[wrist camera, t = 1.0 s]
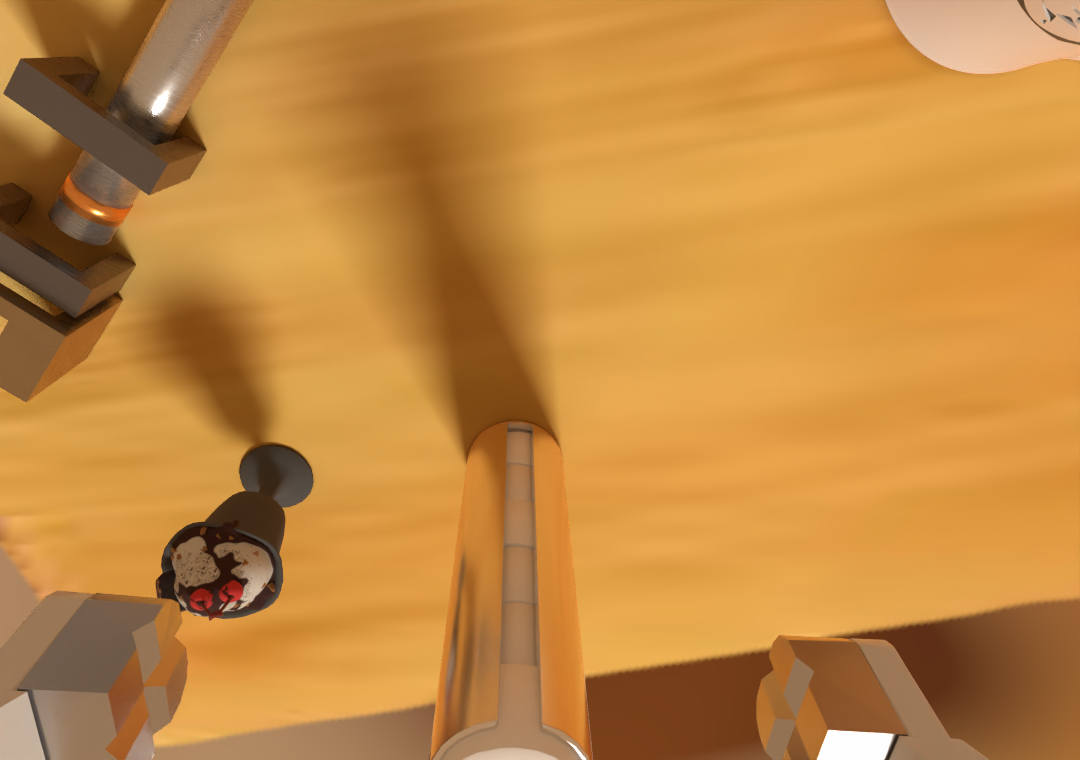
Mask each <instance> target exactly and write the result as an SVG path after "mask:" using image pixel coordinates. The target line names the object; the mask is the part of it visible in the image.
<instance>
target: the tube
mask: <svg viewBox="0 0 1080 760" xmlns="http://www.w3.org/2000/svg"><path fill="white" fill-rule="evenodd" d="M253 1H254V0H166V1H165V3H164V5H163V7H162V8H161V10H160V12H159V14H158V16H157V17H156V19H155V21H154V23H153V25H152V26H151V28H150V30H149V32H148V34H147V36H146V37H145V39H144V41H143V43H142V45H141V46H140V48H139V50H138V52H137V54H136V55H135V57H134V59H133V61H132V63H131V64H130V66H129V68H128V70H127V72H126V73H125V75H124V77H123V79H122V81H121V83H120V84H119V86H118V88H117V90H116V92H115V93H114V95H113V97H112V99H111V101H110V102H109V104H108V106H107V108H106V111H108V112H109V113H110V114H112V115H113V116H115V117H116V118H117V119H119V120H120V121H122V122H123V123H124V124H126V125H127V126H129V127H130V128H131V129H133V130H134V131H135V132H137V133H138V134H140V135H141V136H142V137H144V138H145V139H147V140H148V141H149V142H151V143H152V144H154V145H159V144H162V143H166V142H169V141H170V140H171V138H172V137H173V135H174V133H175V132H176V130H177V128H178V127H179V125H180V123H181V121H182V120H183V118H184V116H185V115H186V113H187V111H188V110H189V108H190V106H191V105H192V103H193V101H194V100H195V98H196V96H197V95H198V93H199V91H200V90H201V88H202V86H203V85H204V83H205V81H206V79H207V78H208V76H209V74H210V73H211V71H212V69H213V68H214V66H215V64H216V63H217V61H218V59H219V58H220V56H221V54H222V53H223V51H224V49H225V48H226V46H227V44H228V43H229V41H230V39H231V37H232V36H233V34H234V32H235V31H236V29H237V27H238V26H239V24H240V22H241V21H242V19H243V17H244V16H245V14H246V12H247V11H248V9H249V7H250V6H251V4H252V2H253ZM140 190H141V189H139V188H138V187H137V186H135V185H134V184H132V183H131V182H129V181H128V180H126V179H125V178H124V177H122V176H121V175H119V174H118V173H116V172H115V171H114V170H112V169H111V168H109V167H108V166H106V165H105V164H103V163H102V162H101V161H99V160H98V159H96V158H95V157H93V156H92V155H91V154H89V153H88V152H86V151H85V150H83V151H82V153H81V155H80V157H79V158H78V160H77V162H76V164H75V166H74V167H73V169H72V171H71V172H70V173H69V174H68V176H67V178H66V180H65V181H64V183H63V185H62V187H61V189H60V190H59V195H58V196H57V198H56V200H55V202H54V204H53V205H52V207H51V209H50V211H49V218H50V220H51V221H52V222H53V224H54V225H55V226H56V227H57V228H59V229H60V230H61V231H62V232H64V233H65V234H67V235H69V236H71V237H73V238H74V239H77V240H79V241H82V242H85V243H88V244H92V245H106V244H108V243H109V242H110V241H111V239H112V237H113V236H114V234H115V232H116V231H117V229H118V227H119V226H120V225H121V224H122V223H123V221H124V219H125V218H126V216H127V214H128V213H129V211H130V209H131V208H132V206H133V202H134V200H135V199H136V197H137V195H138V194H139V192H140Z"/></svg>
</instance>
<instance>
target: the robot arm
mask: <svg viewBox="0 0 1080 760" xmlns="http://www.w3.org/2000/svg"><path fill="white" fill-rule="evenodd" d="M885 1H886V4H887V7H888V9H889V11H890V13H891V16H892V18H893V19H894V21H895V23H896V25H897V26H898V28H899V29H900V31H901V32H902V34H903V35H904V36H905V37H906V39H907V40H908V41H909V42H910V43H911V44H912V45H913V46H914V47H915V48H916V49H917V50H918V51H920V52H921V53H922V54H923V55H925V56H926V57H928V58H929V59H931V60H933V61H935V62H936V63H938V64H940V65H943V66H945V67H948V68H951V69H953V70H957V71H961V72H967V73H976V74H994V73H1003V72H1008V71H1013V70H1017V69H1021V68H1024V67H1027V66H1031V65H1034V64H1039V63H1043V62H1047V61H1052V60H1058V59H1064V58H1065V59H1072V60H1080V0H885ZM181 624H182V618H181V612H180V607H179V603H178V602H176V601H174V600H172V599H161V598H149V597H137V596H125V595H113V594H101V593H96V594H89V593H78V592H67V591H56V592H54V593H52V594H50V595H48V596H46V597H45V598H44V599H43V600H42V601H41V602H40V603H39V605H38V606H37V607H36V608H35V609H34V611H33V612H32V613H31V614H30V615H29V616H28V617H27V619H26V620H25V621H24V622H23V623H22V625H21V626H20V627H19V628H18V629H17V630H16V632H15V633H14V634H13V635H12V636H11V637H10V639H9V640H8V641H7V642H6V643H5V644H4V646H3V647H2V648H1V649H0V760H151V759H152V757H153V756H154V754H155V749H154V743H153V737H152V735H153V734H155V733H156V732H157V731H159V730H160V729H162V728H163V727H164V726H166V725H167V724H169V723H170V722H171V720H172V718H173V716H174V714H175V712H176V710H177V708H178V706H179V704H180V701H181V697H182V694H183V690H184V687H185V683H186V679H187V663H188V661H187V653H186V648H185V647H184V646H183V645H182V644H181V643H180V642H179V641H178V640H177V639H176V638H175V637H174V636H175V634H176V633H177V631H178V629H179V627H180V626H181ZM769 658H770V660H771V663H772V665H773V668H774V670H773V671H772V672H771V673H770V674H768V675H767V676H766V677H765V678H763V679H762V680H761V684H760V688H759V692H758V696H757V723H758V729H759V735H760V738H761V741H762V744H763V747H764V750H765V752H766V753H767V754H768V755H769V756H770V757H771V758H772V759H773V760H989V759H987V758H986V757H984V756H983V755H982V754H980V753H979V752H978V751H976V750H975V749H973V748H972V747H971V746H970V745H968V744H967V743H965V742H964V741H963V740H961V739H950V737H949V736H948V734H947V732H946V731H945V729H944V728H943V726H942V724H941V723H940V721H939V719H938V718H937V716H936V714H935V713H934V711H933V710H932V708H931V706H930V705H929V703H928V702H927V700H926V698H925V697H924V695H923V694H922V692H921V690H920V689H919V687H918V685H917V684H916V682H915V680H914V679H913V677H912V676H911V674H910V673H909V671H908V669H907V668H906V666H905V665H904V663H903V661H902V659H901V658H900V656H899V655H898V653H897V652H896V650H895V648H894V647H893V646H892V645H891V644H890V643H888V642H887V641H886V640H871V639H843V638H823V637H803V636H784V635H779V636H778V637H777V639H776V640H775V641H774V642H773V645H772V648H771V651H770V654H769Z"/></svg>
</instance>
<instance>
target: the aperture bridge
mask: <svg viewBox="0 0 1080 760" xmlns="http://www.w3.org/2000/svg"><path fill="white" fill-rule="evenodd" d="M122 301H123V300H122V299H121V298H119V297H118V296H116V295H114V294H113V295H111V296H110V297H108V298H107V299H105V300H103V301H102V302H100V303H99V304H97V305H95V306H94V307H92V308H90V309H89V310H87V311H86V312H84V313H82V314H81V315H79V316H77V317H76V318H75V317H73V316H71V315H70V314H68V313H67V312H63V313H61V314H60V315H58V316H56V317H54V316H52V315H51V314H49V313H48V312H46V311H44V310H43V309H41V308H40V307H38V306H36V305H35V304H33V303H32V302H30V301H28V300H27V299H25V298H24V297H22V296H20V295H19V294H17V293H15V292H14V291H12V290H11V289H9V288H7V287H6V286H4V285H3V284H1V283H0V316H2V317H4V318H5V319H7V320H9V321H8V323H7V325H6V326H5V328H4V330H3V332H2V333H1V335H0V387H1V388H2V389H4V390H6V391H8V392H9V393H11V394H13V395H14V396H16V397H18V398H20V399H21V400H23V401H25V402H28V401H29V400H30V399H32V398H33V397H34V396H36V395H37V394H39V393H40V392H41V391H43V390H44V389H45V388H47V387H48V386H50V385H51V384H52V383H54V382H55V381H56V380H58V379H59V378H61V377H62V376H63V375H65V374H66V373H67V372H69V371H70V370H72V369H73V368H74V367H76V366H77V365H78V364H80V363H81V362H82V361H84V360H85V359H86V358H87V357H88V355H89V354H90V352H91V350H92V349H93V347H94V346H95V344H96V342H97V341H98V339H99V338H100V336H101V334H102V333H103V331H104V329H105V328H106V326H107V325H108V323H109V321H110V320H111V318H112V317H113V315H114V313H115V312H116V310H117V309H118V307H119V305H120V304H121V302H122Z"/></svg>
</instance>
